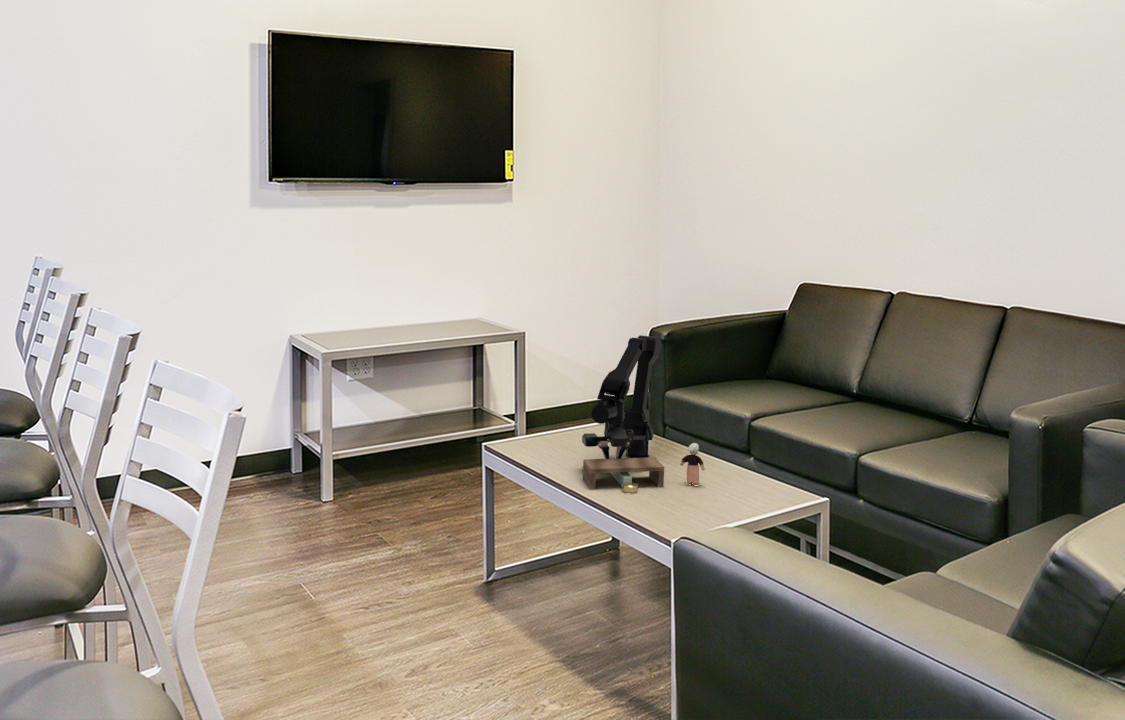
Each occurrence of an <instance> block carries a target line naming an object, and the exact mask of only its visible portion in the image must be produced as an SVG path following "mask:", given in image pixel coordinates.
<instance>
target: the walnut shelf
mask: <svg viewBox="0 0 1125 720" xmlns="http://www.w3.org/2000/svg"><path fill="white" fill-rule="evenodd" d="M582 462H583V463H582V465H583V466H582V480H583V481H584V483H585V482H586V483H585V484H586V485H587V487H588V488H589V490H596V479H597V478H596V476H597V474H607V473H608V474H611V473H616V472H628V473H640V472H647V473H648V477H649V478H650V480H651V481H652V482H653V481H654V482H655V483H656V484H657V485H658V486H663V487H664V482H665V481H664V479H665V466H664V465H663V464H662V463H661V462H660V461H659V460H658V459H657V458H656V457H653V456H652V457H651V456H650V458H629V457H624V458H617V459H605V458H592V459H591V458H587V459H585V458H584V459H583V461H582ZM654 482H653V483H654ZM655 483H654V484H655ZM656 484H655V485H656ZM657 485H656V486H657ZM658 486H657V487H658Z"/></svg>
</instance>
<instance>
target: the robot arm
mask: <svg viewBox="0 0 1125 720" xmlns="http://www.w3.org/2000/svg"><path fill="white" fill-rule="evenodd" d="M662 345H663V344H662V341H661V340H660V339H659V337H658V336H651V335H650V336H649V335H638V336H637V337H630V338H629V339H628V341H627V346H626V348H625V350H624V352H623V354H622V356H621V358H620V360H619V361H618V363H617V365H616V367H615V368H614V369H613V370H611V371H609V372H608V373H607V375H606V376H605V377H604V379H603V380H602V382H601V386H600V389H599V391H598V395H597V398H596V399H597V400H598V401H597V405H595V406H593V408H592V410H591V417H592V420H593V421H594V422H595V423H597V424H598V425H603V424H604V431H603V435H604V436H598V435H597V434H596V433H594V432H593V433H591V432H590V433H586V432H585V433H584V434H582V436H581V442H582V444H583V445H584V446H585V447H587V448H589V447H590V448H593V447H594V448H595V447H598V448H599V449H600V450H601V451H602V454H603V457H604V459H609V456H610V446H611V447H613V448H616V450H615V451H616V452H615V453H616V454H615V458H616V459H617V458H622V457H623V455H624V453H625V454H626V455H627V458H651V456H650V455H649V443H650V441H652V440H653V438H654V435H655V434H654V433H655V431H654V429H653V427H652V425H651V422H650V421H651V417H650V414H649V411H648V410H647V405H648V398H649V391H650V384H651V378H652V369H653V365H654V364H655V362H656V361H657V359H659V357H660V352H661V350H662V347H663V346H662ZM635 367H636V373H635V380H634V387H633V395H632V399H631V400H632V401H631V402H632V403H631V406H630V408H629V409H628V410H626V411H625V401H627V400H628V399H627V395H628V393H629V391H630V387H631V382H630V377H631V375H632V373H633V371H634V369H635ZM608 443H610V446H609V445H608Z"/></svg>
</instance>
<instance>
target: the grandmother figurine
mask: <svg viewBox="0 0 1125 720" xmlns="http://www.w3.org/2000/svg"><path fill="white" fill-rule="evenodd" d="M699 446H700V445H699V444H698V443H696V442H693V443H691V444H690V445H689V446H688V448H687V451H688V452H689V454H687V455H685V456H683V458H682V459H681V461H680V463H679V465H680V466H681V467H683V466H684V464H685V463H687V467H686V483H687V484H692V483H693V485H699V484H701V485H702V483H701V482H700V469H701V471H705V470H706V468H705V465H704V462H703V460H702V458H701V456H698V453H699V450H700V447H699ZM699 466H700V467H699Z"/></svg>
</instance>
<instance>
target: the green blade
mask: <svg viewBox="0 0 1125 720" xmlns="http://www.w3.org/2000/svg"><path fill="white" fill-rule="evenodd" d="M609 459H616V456H614V455H609ZM610 475H611V476H612V477H613V478H614V479H615V481H616V482H617V483H618V485H619V486H620V485H621V486H620V487H621V488H622V484H623V483H633V482H632V480H633V478H632V475H631V474H630V472H616V473H610Z"/></svg>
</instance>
